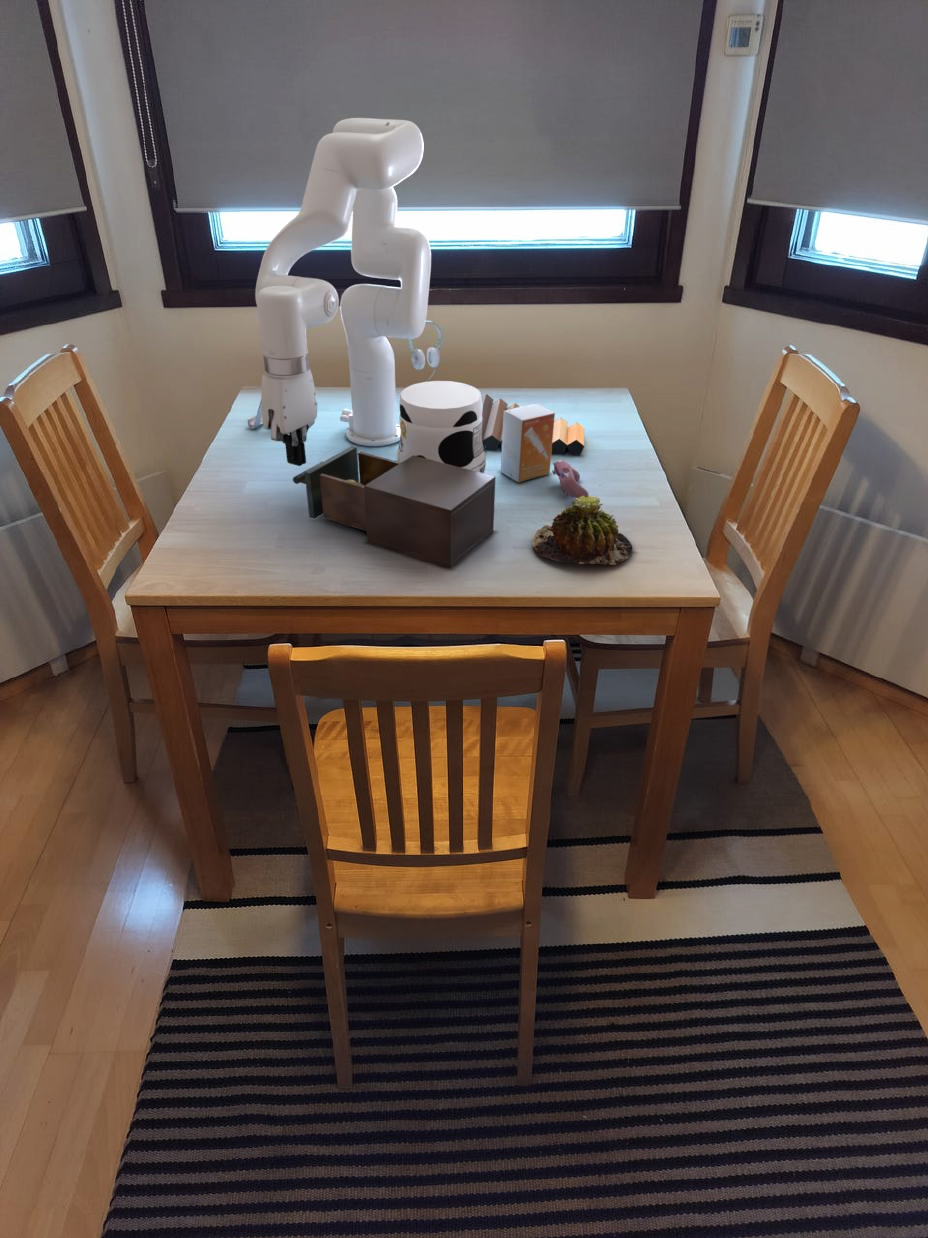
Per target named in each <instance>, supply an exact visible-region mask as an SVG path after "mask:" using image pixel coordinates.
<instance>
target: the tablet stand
mask: <svg viewBox="0 0 928 1238" xmlns="http://www.w3.org/2000/svg"><path fill="white" fill-rule="evenodd" d="M261 425H263V417H262V402H261V400H260V402H259V405H258V409H257V412H256V414H254V415H253V416H251V417H249V418H247V426H248V428H249V429H251V430H254V429H257V428H259V426H261Z"/></svg>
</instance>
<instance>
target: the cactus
mask: <svg viewBox="0 0 928 1238" xmlns="http://www.w3.org/2000/svg"><path fill="white" fill-rule="evenodd" d="M579 498H580V499H577V498H574V499H575V500H571V501H570V503H571V504H572V505H571V506H569V507H565V509H563V510H562V511H561V512H560V513H559V514H556V516H554V518H552V523H551V525H549V524H544V525H543V526H542V527H541V528H540V529H538V530H537V531H536V533H535V534H534V536H533V537H532V539H531V543H532V544H531V545H532V547H533V549H534V550H535V551H536V555H539V557H540V558H546V559H550V560H552V561H556V562H560V563H567V564H569V563H571V564H572V563H576V564H578V565H584V564H591V565H597V564H598V565H602V564H603V565H605V566H606V565H607V564H608V565H612V566H614V565H615V566H617V565H618V564H619V563H621V562H624V561H626V560H627V559H629V558H630V557H631V555H632V554H633V545H632V543H631V542H630V541H629V539H628V537H626V536H625V535H624V534H622V533H621V532H619V525H617V524H618V521H616V518H615V515H614V514H613V515H610V513H612V512H613V510H612V511H610V513H606V512H605V510H604V511H603V508H602V505H604V503H603V502H601V499H600V497H598V496H593V495H588V498H587V497H585V496H581V497H579Z"/></svg>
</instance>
